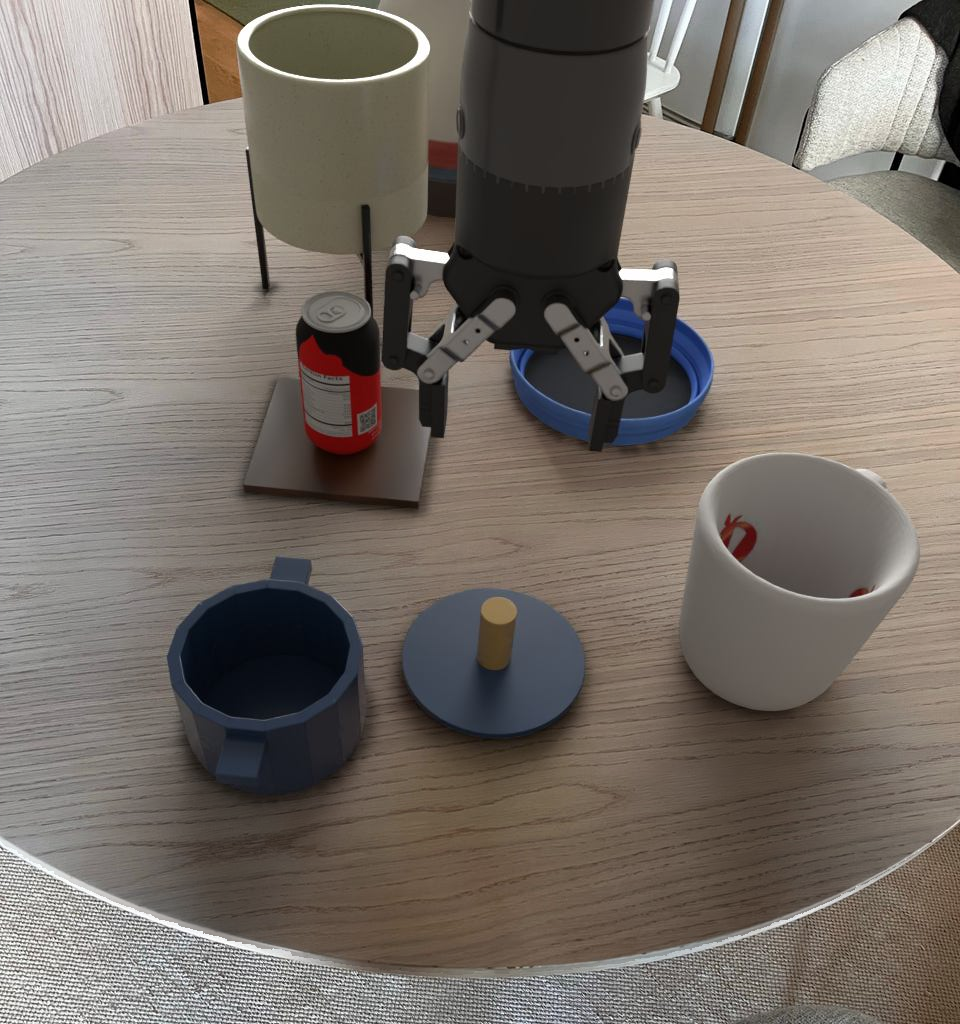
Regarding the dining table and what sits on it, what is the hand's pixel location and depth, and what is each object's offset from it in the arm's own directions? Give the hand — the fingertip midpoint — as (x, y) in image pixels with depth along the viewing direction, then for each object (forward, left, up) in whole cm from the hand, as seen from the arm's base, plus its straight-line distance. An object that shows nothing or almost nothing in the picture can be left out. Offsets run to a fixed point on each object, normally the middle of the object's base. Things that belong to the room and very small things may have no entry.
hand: (516, 435), depth 55 cm
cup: (+20, +5, -21) cm, 29 cm away
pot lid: (0, 0, -20) cm, 20 cm away
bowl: (+8, +33, -21) cm, 40 cm away
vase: (-9, +65, -21) cm, 69 cm away
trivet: (-14, +22, -21) cm, 33 cm away
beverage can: (-14, +22, -20) cm, 33 cm away
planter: (-17, +43, -21) cm, 51 cm away
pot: (-14, -6, -21) cm, 26 cm away
